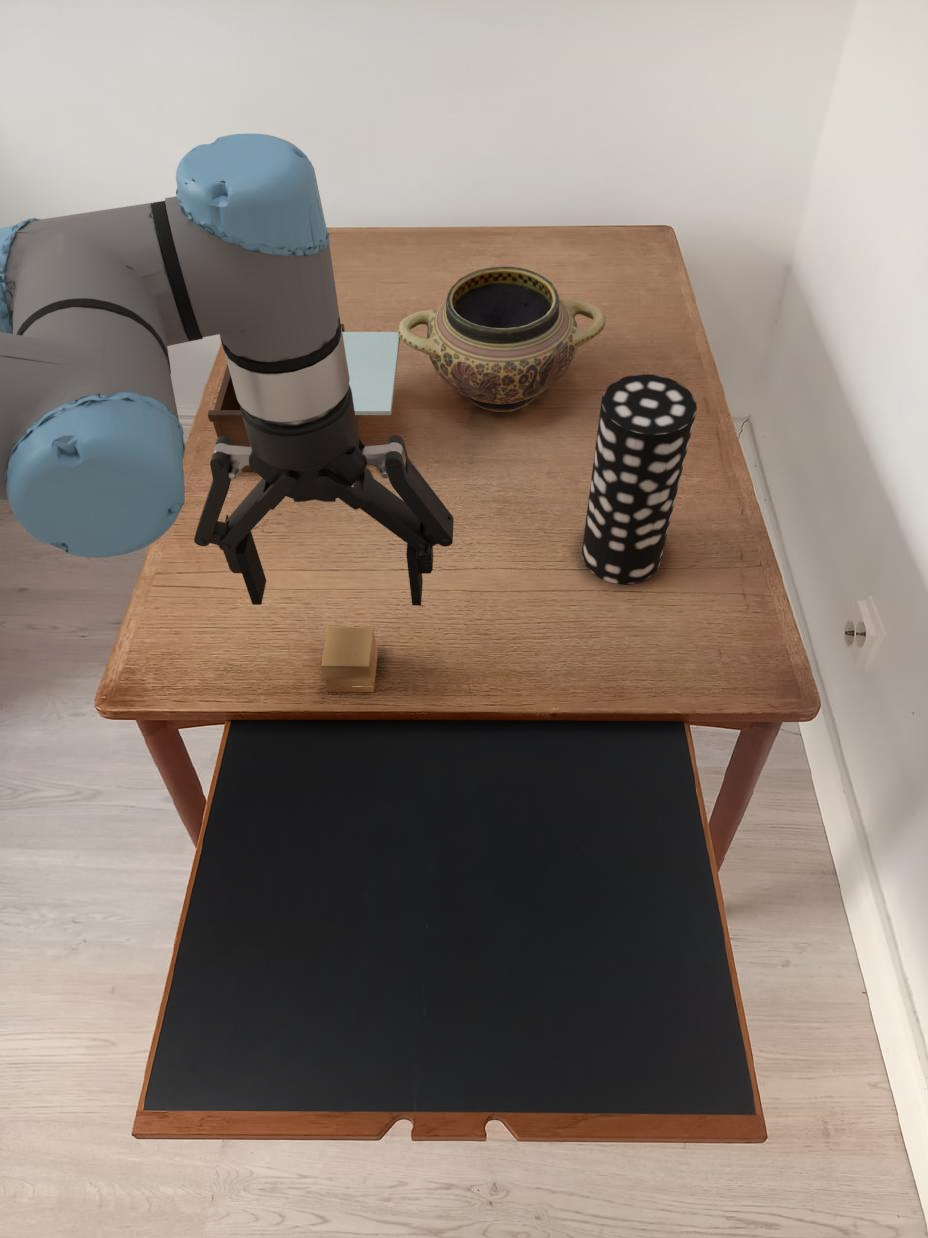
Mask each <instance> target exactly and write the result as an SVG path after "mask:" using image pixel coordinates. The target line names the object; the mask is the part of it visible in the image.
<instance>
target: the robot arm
mask: <svg viewBox="0 0 928 1238" xmlns="http://www.w3.org/2000/svg"><path fill="white" fill-rule="evenodd" d="M175 182H176V187H177V188H176V191H175V196H170V197H165V198H164V200H161V201H155V202H148V203H147V202H146V203H141V204H135V205H127V206H120V207H115V208H108V209H101V210H94V211H87V212H81V213H74V214H68V215H61V216H54V217H47V218H42V219H41V218H36V217H33V218H27V219H26V220H25V219H24V220H21V221H19V222H18V223H16V224H13V225H9V226H5V227H0V500H1V501H8V502H9V505H10V509H11V510H12V513H13V516H14V517H15V519H16V521H17V523H18V524H19V525H20V526H21V528H22V529H24V530H25V532H26V533H28V534H29V535H30V537H32V538H34V539H35V540H37V541H38V542H40V543H42V545H50V546H52V547H55V548H58V549H60V550H62V551H63V552H64V553H65V554H66V555H70V556H73V557H74V556H75V557H82V558H87V559H88V558H89V559H90V558H92V559H93V558H94V559H103V558H104V559H105V558H112V557H117V556H123V555H127V554H130V553H134V552H137V551H139V550H141V549H144V548H147V547H148V546H150V545H152V544H153V543H155V542H156V541H157V540H159V539H160V538H161V537H163V536H164V535H165V534H166V533H167V532H168V531H169V530H170V529H171V527H172V526H173V525H174V524H175V522H176V520H177V519H178V517H179V515H180V512H181V510H182V508H183V507H184V505H185V500H186V497H185V496H186V495H185V494H186V487H185V472H184V457H185V453H186V443H185V440H184V428H183V425H182V424H181V423H180V418H179V413H178V408H177V403H176V397H175V393H174V392H175V391H174V386H173V381H172V376H171V375H172V371H171V369H172V368H171V362H170V356H169V348H168V346H175V345H179V344H184V343H189V342H195V341H200V340H203V339H204V338H207V337H213V336H218V335H219V338H220V342H221V346H222V349H223V352H224V356H225V360H226V365H227V364H228V367H229V371H230V375H231V378H232V382H233V386H234V390H235V393H236V397H237V400H238V402H239V404H240V410H241V414H242V418H243V421H244V425H245V428H246V432H247V435H248V439H249V442H250V446H251V447H245V446H234V444H233V441H232V440H231V439H230V438H229V437H226V436H220V437H217V438H216V441H215V444H214V448H213V451H212V454H211V458H210V462H209V467H210V471H211V477H212V479H211V480H212V481H211V483H210V486H209V489H208V492H207V496H206V498H205V501H204V505H203V508H202V511H201V514H200V517H199V520H198V523H197V527H196V531H195V534H194V538H193V541H194V543H195V544H196V545H197V546H200V547H208V546H209V545H210V544H211V545H215V546H217V547H218V548H219V550H221V551H222V552H223V554H224V557H225V560H226V563H227V566H228V568H229V571H230V572H232V573H233V574H241V575H242V578H243V581H244V584H245V586H246V587H245V588H246V589H247V593H248V595H249V598H250V602H251V604H252V606H261V605H262V603H263V599H264V594H265V589H266V585H267V578H266V573H265V571H264V568H263V565H262V562H261V558H260V556H259V552H258V549H257V546H256V543H255V539H254V537H253V536H254V535H253V533H252V530H253V529H254V528H255V527H256V526H258V524H259V523H260V522H261V521H262V519H263V518H264V517H265V516H266V515H267V514H268V513H269V512H270V511H271V510H272V511H273V510H275V509H276V508H277V507H278V506H279V504H280V503H281V502H282V501H283V500H284V499H285V498H286V497H287V498H289V499H293V502H294V503H296V502H297V503H304V502H305V503H306V502H311V501H318V502H319V501H320V502H324V503H327V502H328V503H335V502H336V500H337V499H339V500H340V501H342V502H343V503H344V504H346V505H347V506H348V507H350V508H351V509H352V510H355V511H357V510H361V511H363V512H364V513H365V514H367V516H370V517H371V518H372V519H374V520H375V521H376V522H378V523H379V524H380V525H382V526H383V527H384V528H386V529H387V530H389V531H390V532H391V533H393V534H394V535H395V536H396V537H398V538H399V539H401V540H402V542H403V541H404V542H405V544H406V552H405V553H406V564H407V572H408V582H409V589H410V597H411V598H410V599H411V606H422V598H423V584H424V582H423V581H424V580H423V574H430V575H431V573H432V572H433V570H434V546H436V545H439V546H441V547H445V548H446V547H450V546H452V544H453V542H454V521H455V519H454V516H453V515H452V513H451V512H450V511H449V510H448V508H447V507H446V505H445V504H444V503H443V502H442V500H441V499H440V498H439V496H438V495H437V493H435V491H434V490H433V488H432V487H431V485H430V484H429V483H428V482H427V480H426V479H425V477H423V476H422V474H421V473H420V471H419V470H418V469H417V467H416V466H415V465H414V463H413V462H412V461H411V460H410V458H409V456H408V450H407V447H406V443H405V440H404V438H403V437H401V436H400V435H399V434H393V435H390V436H389V437H388V438H387V442H386V444H377V445H366V444H365V443H364V442H363V440H362V439H361V437H360V435H359V429H358V424H357V423H358V422H357V418H356V416H357V415H355V410H354V404H353V397H352V391H351V387H350V385H349V381H350V377H349V371H348V365H347V358H346V352H345V346H344V339H343V333H342V327H341V324H342V323H341V316H340V309H339V302H338V295H337V288H336V281H335V274H334V267H333V260H332V253H331V252H332V251H331V244H330V242H331V241H330V233H329V232H328V228H327V223H326V219H325V215H324V210H323V205H322V200H321V195H320V190H319V186H318V185H319V184H318V180H317V176H316V171H315V167H314V165H313V163H312V162H311V160H310V159H309V157H308V156H307V155H306V153H305V152H304V151H302V149H300V148H299V147H298V146H297V145H295V144H294V143H292V142H291V141H288V140H286V139H284V138H281V137H278V136H274V135H271V134H266V133H265V134H264V133H233V134H228V135H223V136H219V137H217V138H215V140H214V141H213V142H211V143H203V144H198V145H196V146H194V147H193V148H192V149H190V150H189V151H188V152H186V153H185V154H184V156H183V157H182V158H181V159H180V161H179V163H178V165H177V166H176V171H175ZM245 466H250V467H251V468H252V470H253V471H252V472H254V474H256V475H258V476H259V477H260V478H261V479H260V480H259V482H258V483H256V485H254V487H253V489H252V490H251V491H250V492H249V493H248V494H247V495H246V496H245V498H244V499H242V501H241V502H240V504H238V505H237V506H236V508H235V509H234V511H232V513H231V514H230V515H229V514H226V516H225V520H224V521H219V518H220V515H221V513H222V510H223V508H224V504H225V501H226V499H227V496H228V492H229V490H230V486H231V482H232V480H234V479H236V478H237V476H239V475H241V474H242V472H243V471H242V469H243V468H244V467H245ZM367 466H372V467H375V468H376V469H377V471H378V472H379V473H380V476H381V478H384V479H388V480H389V483H390V485H391V487H392V488H393V489H394V491H395V492H396V493H397V495H396V494H395V493H394V492H392V491H391V490H390V489H388V488H387V487H386V486H384V485H383V484H382V483H380V482H379V481H378V480H377V479H376V478H374V475H373V473H372V471H371V470H370V469H369V467H367Z"/></svg>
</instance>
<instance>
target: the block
mask: <svg viewBox="0 0 928 1238" xmlns="http://www.w3.org/2000/svg"><path fill="white" fill-rule="evenodd" d="M323 645H324V646H323V652H322V657H321V664H320V666H321V671H322V674H323V678H324V682H325V686H326V685H327V686H326V689H327V692H328V693H375V686H376V676H377V667H378V657H379V654H378V648H377V641H376V635H375V630H374V627H329V626H328V627H326V631H325V639H324V644H323ZM373 679H374V681H373ZM352 686H373V687H352Z"/></svg>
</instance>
